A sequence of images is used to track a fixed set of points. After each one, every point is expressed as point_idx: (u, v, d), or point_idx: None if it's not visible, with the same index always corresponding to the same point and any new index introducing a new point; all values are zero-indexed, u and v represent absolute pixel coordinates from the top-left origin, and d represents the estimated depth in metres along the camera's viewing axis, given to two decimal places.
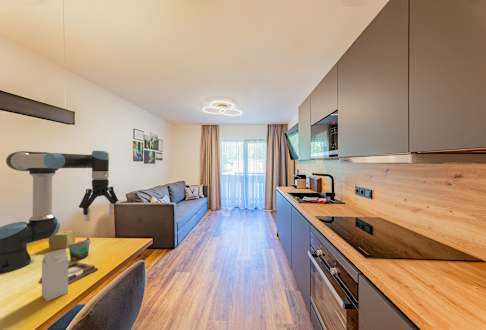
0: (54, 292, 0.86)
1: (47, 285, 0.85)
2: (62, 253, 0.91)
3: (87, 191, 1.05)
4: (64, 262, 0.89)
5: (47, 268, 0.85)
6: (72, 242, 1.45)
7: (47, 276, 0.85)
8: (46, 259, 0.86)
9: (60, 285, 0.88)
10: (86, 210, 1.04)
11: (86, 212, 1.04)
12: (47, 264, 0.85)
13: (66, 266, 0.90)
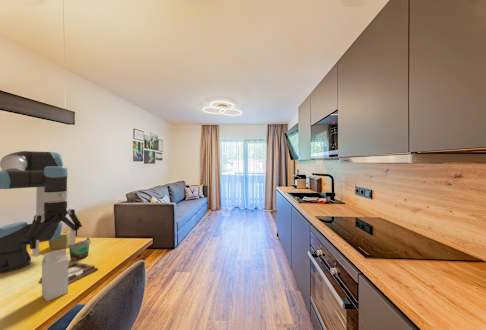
0: (54, 292, 0.86)
1: (47, 285, 0.85)
2: (62, 253, 0.91)
3: (35, 218, 0.83)
4: (64, 262, 0.89)
5: (47, 268, 0.85)
6: None
7: (47, 276, 0.85)
8: (46, 259, 0.86)
9: (60, 285, 0.88)
10: (33, 243, 0.82)
11: (33, 245, 0.82)
12: (47, 264, 0.85)
13: (66, 266, 0.90)
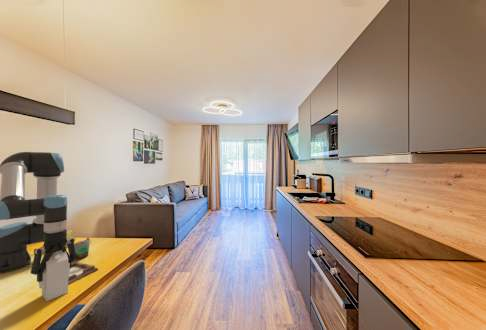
0: (54, 292, 0.86)
1: (47, 285, 0.85)
2: (62, 253, 0.91)
3: (36, 252, 0.83)
4: (64, 262, 0.89)
5: (47, 268, 0.85)
6: None
7: (47, 276, 0.85)
8: None
9: (60, 285, 0.88)
10: (40, 276, 0.84)
11: (40, 278, 0.84)
12: (47, 264, 0.85)
13: (66, 266, 0.90)
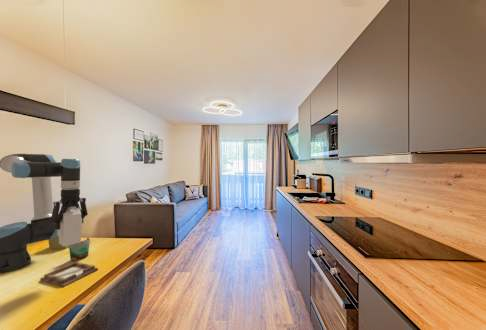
0: (69, 239, 1.02)
1: (64, 233, 1.00)
2: (76, 209, 1.06)
3: (55, 204, 0.98)
4: (78, 216, 1.04)
5: (64, 218, 1.00)
6: None
7: (64, 225, 1.00)
8: None
9: (74, 235, 1.03)
10: (58, 224, 0.99)
11: (58, 227, 0.99)
12: (64, 215, 1.00)
13: (79, 219, 1.05)
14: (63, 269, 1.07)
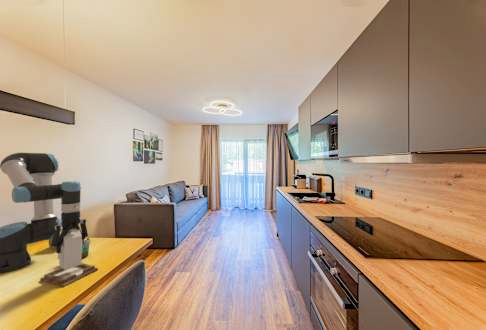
0: (70, 262, 1.02)
1: (64, 256, 1.00)
2: (77, 231, 1.07)
3: (55, 228, 0.99)
4: (78, 238, 1.05)
5: (64, 242, 1.00)
6: None
7: (64, 249, 1.00)
8: None
9: (75, 257, 1.04)
10: (59, 248, 1.00)
11: (59, 250, 1.00)
12: (64, 239, 1.01)
13: (80, 241, 1.06)
14: (63, 269, 1.07)
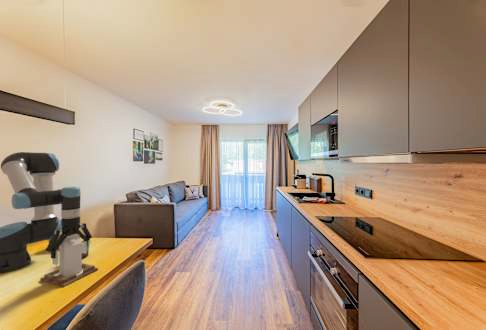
0: (70, 270, 1.02)
1: (65, 264, 1.00)
2: (77, 238, 1.07)
3: (55, 232, 0.99)
4: (78, 245, 1.05)
5: (65, 250, 1.01)
6: None
7: (65, 256, 1.00)
8: (63, 242, 1.02)
9: (75, 265, 1.04)
10: (54, 253, 0.98)
11: (54, 255, 0.98)
12: (64, 246, 1.01)
13: (80, 249, 1.06)
14: None
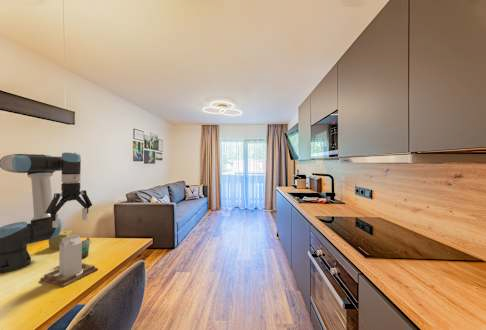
0: (70, 270, 1.02)
1: (65, 264, 1.00)
2: (77, 238, 1.07)
3: (55, 196, 0.99)
4: (78, 245, 1.05)
5: (65, 250, 1.01)
6: None
7: (65, 256, 1.01)
8: (63, 242, 1.02)
9: (75, 265, 1.04)
10: (54, 216, 0.98)
11: (54, 218, 0.98)
12: (65, 246, 1.01)
13: (80, 249, 1.06)
14: None
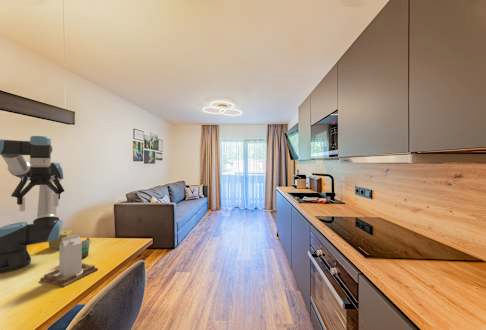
0: (70, 270, 1.02)
1: (65, 264, 1.00)
2: (77, 238, 1.07)
3: (22, 179, 0.97)
4: (78, 245, 1.05)
5: (65, 250, 1.01)
6: None
7: (65, 256, 1.01)
8: (63, 242, 1.02)
9: (75, 265, 1.04)
10: (20, 199, 0.96)
11: (20, 202, 0.96)
12: (65, 246, 1.01)
13: (80, 249, 1.06)
14: None
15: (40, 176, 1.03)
